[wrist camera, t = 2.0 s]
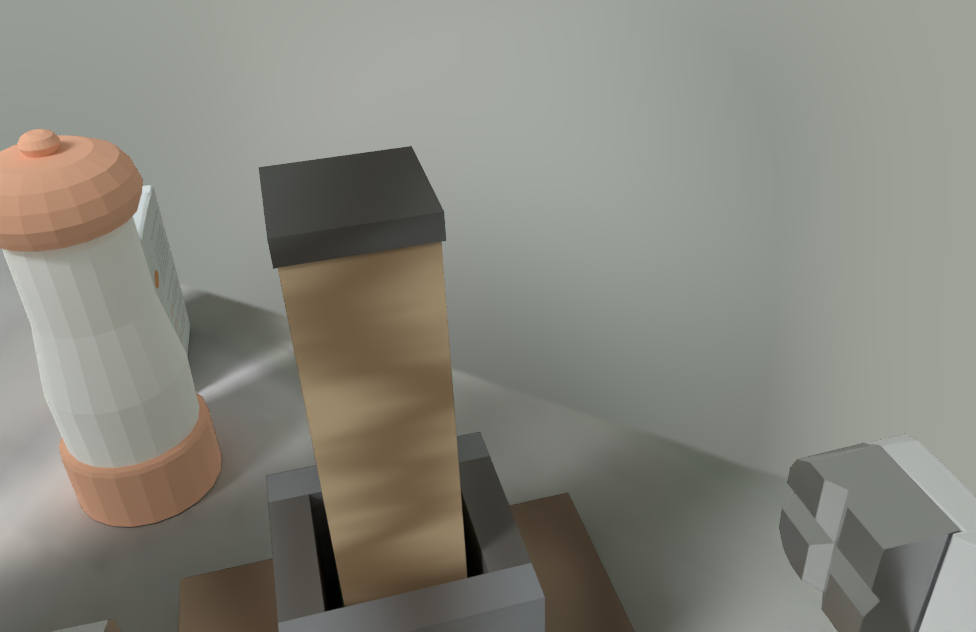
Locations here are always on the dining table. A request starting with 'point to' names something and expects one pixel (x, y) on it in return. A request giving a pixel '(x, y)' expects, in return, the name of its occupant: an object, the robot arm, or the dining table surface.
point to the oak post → (373, 362)
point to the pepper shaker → (103, 331)
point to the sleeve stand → (429, 611)
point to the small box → (161, 263)
